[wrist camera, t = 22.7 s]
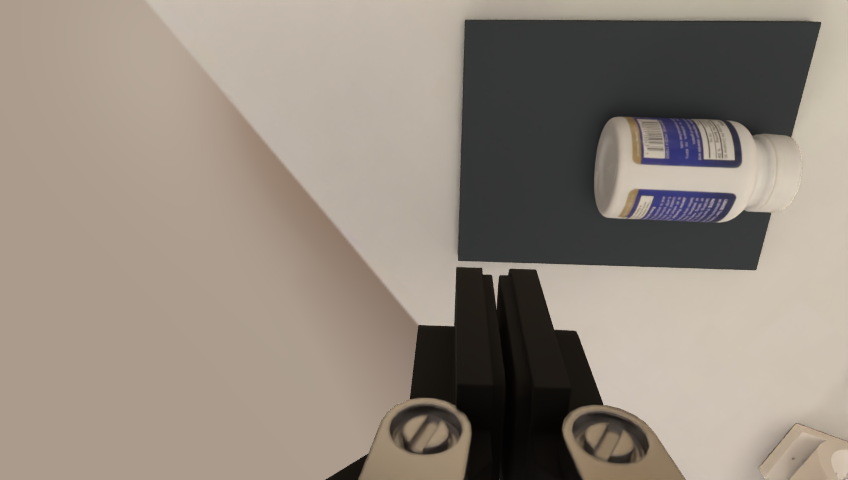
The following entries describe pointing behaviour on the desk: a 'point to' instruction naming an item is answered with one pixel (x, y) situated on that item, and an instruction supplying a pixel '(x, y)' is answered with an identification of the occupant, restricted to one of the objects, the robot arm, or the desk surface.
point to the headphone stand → (807, 457)
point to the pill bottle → (692, 170)
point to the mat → (585, 119)
